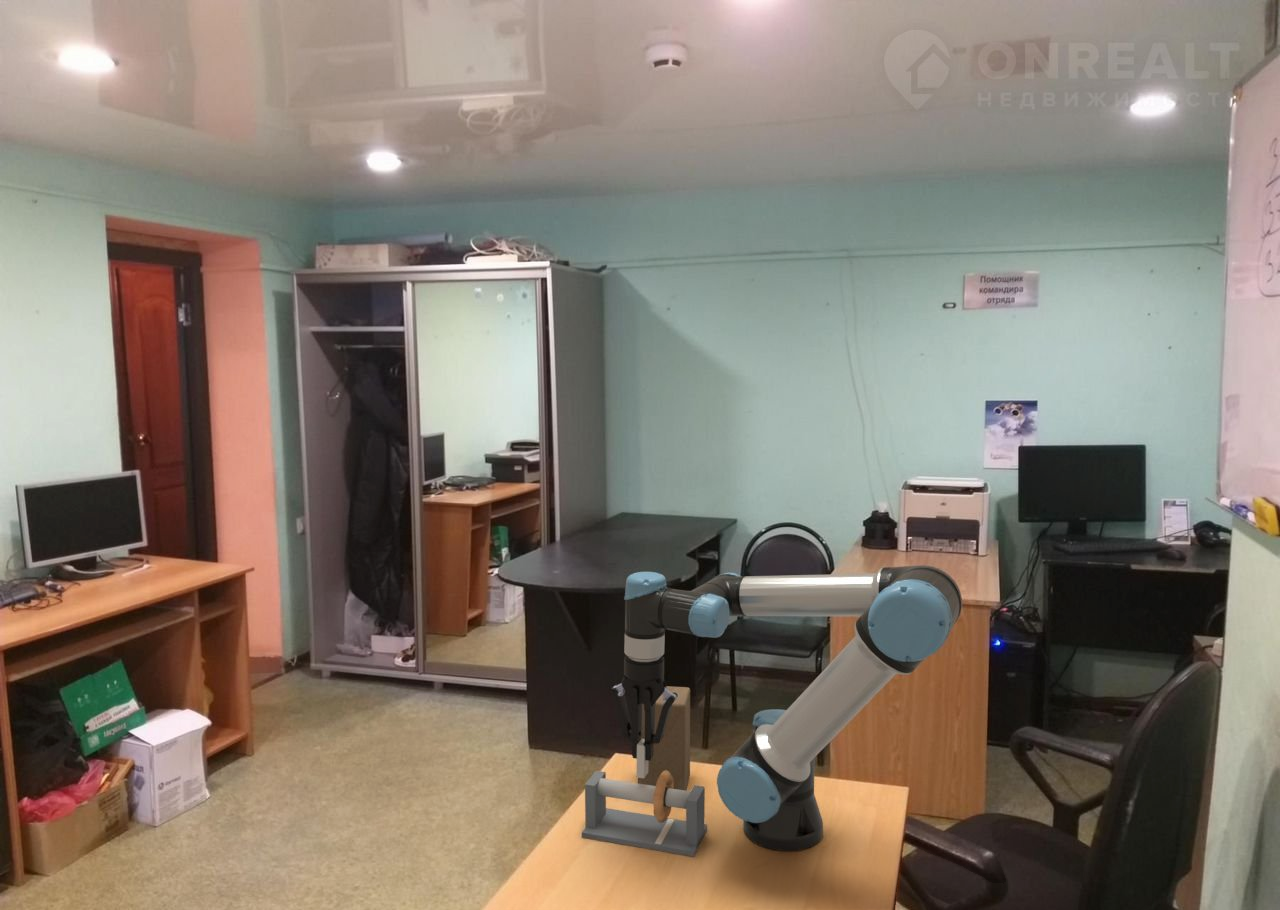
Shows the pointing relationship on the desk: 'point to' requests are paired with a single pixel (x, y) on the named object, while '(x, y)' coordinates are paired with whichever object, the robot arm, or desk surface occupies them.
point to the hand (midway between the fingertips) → (642, 774)
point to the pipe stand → (643, 816)
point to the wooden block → (671, 741)
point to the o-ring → (659, 809)
